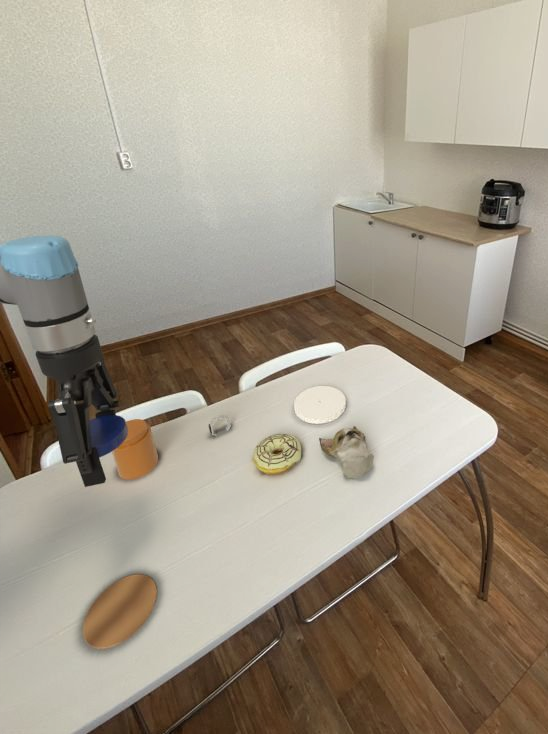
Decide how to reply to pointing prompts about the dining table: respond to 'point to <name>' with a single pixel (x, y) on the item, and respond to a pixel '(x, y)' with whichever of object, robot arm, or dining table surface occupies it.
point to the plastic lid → (320, 404)
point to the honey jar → (136, 451)
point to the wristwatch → (218, 419)
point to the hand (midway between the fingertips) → (105, 461)
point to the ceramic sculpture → (349, 451)
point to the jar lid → (107, 433)
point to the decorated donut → (280, 462)
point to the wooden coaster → (119, 611)
